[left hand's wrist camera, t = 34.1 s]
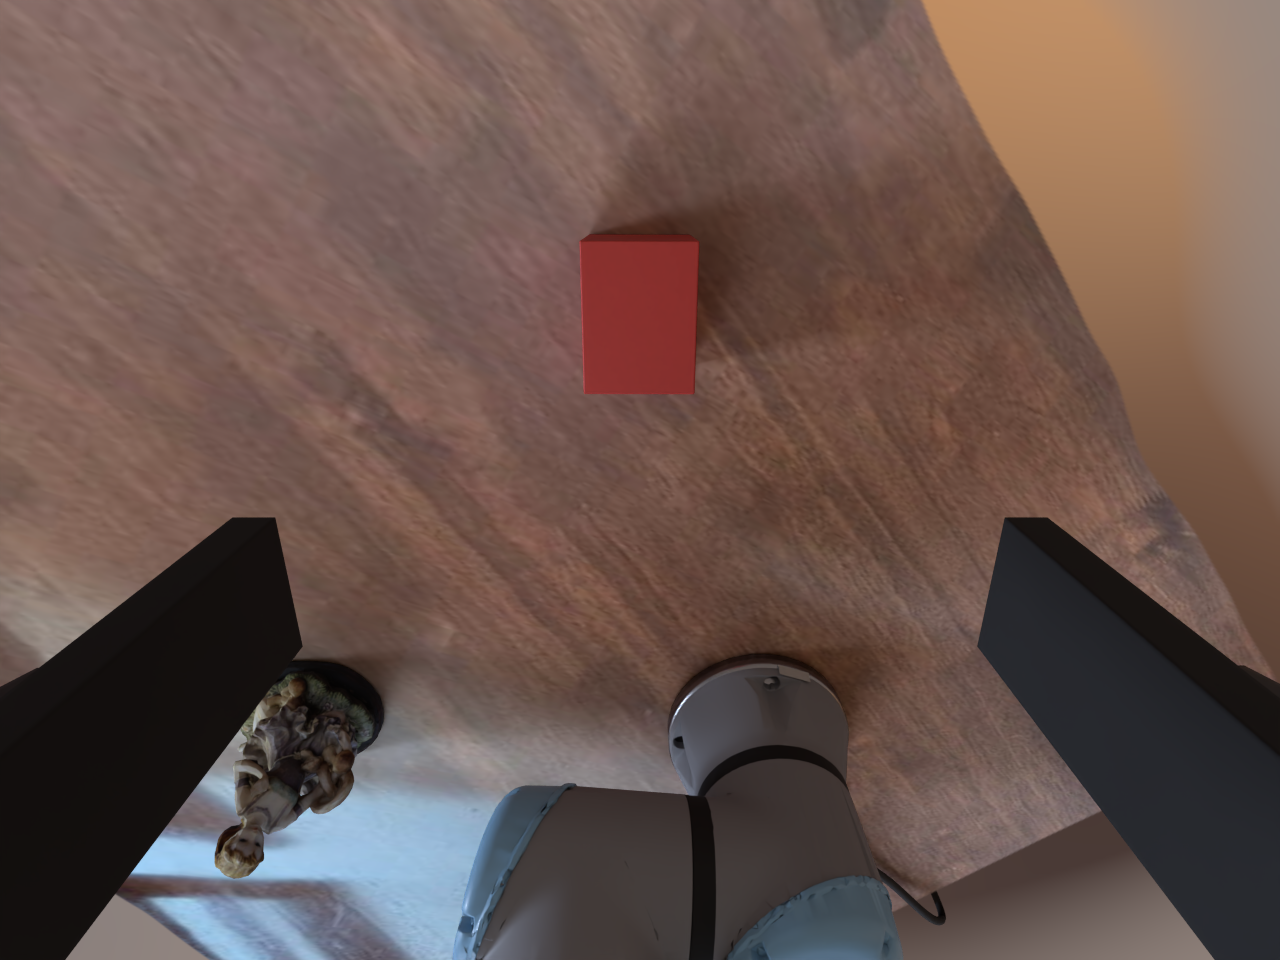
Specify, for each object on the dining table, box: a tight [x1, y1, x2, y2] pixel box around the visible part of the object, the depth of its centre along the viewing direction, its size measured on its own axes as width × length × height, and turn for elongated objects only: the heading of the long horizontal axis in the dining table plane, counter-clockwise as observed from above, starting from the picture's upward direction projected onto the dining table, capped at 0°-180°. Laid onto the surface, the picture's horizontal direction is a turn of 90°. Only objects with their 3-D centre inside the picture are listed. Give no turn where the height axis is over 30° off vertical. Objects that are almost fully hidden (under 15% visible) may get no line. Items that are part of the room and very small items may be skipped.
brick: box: [580, 234, 699, 394], centre depth 44 cm, size 9×7×8 cm
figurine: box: [215, 661, 383, 878], centre depth 53 cm, size 12×11×15 cm
